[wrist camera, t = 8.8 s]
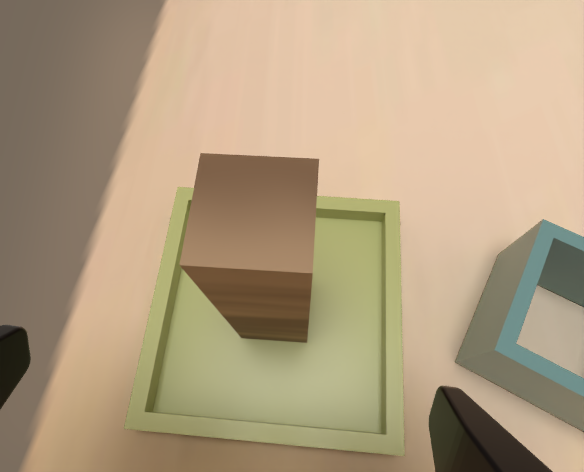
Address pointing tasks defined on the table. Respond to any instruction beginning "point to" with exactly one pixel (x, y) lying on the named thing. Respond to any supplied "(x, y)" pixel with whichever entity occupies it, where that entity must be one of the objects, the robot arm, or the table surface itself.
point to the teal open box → (511, 314)
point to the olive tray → (284, 346)
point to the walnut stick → (254, 242)
